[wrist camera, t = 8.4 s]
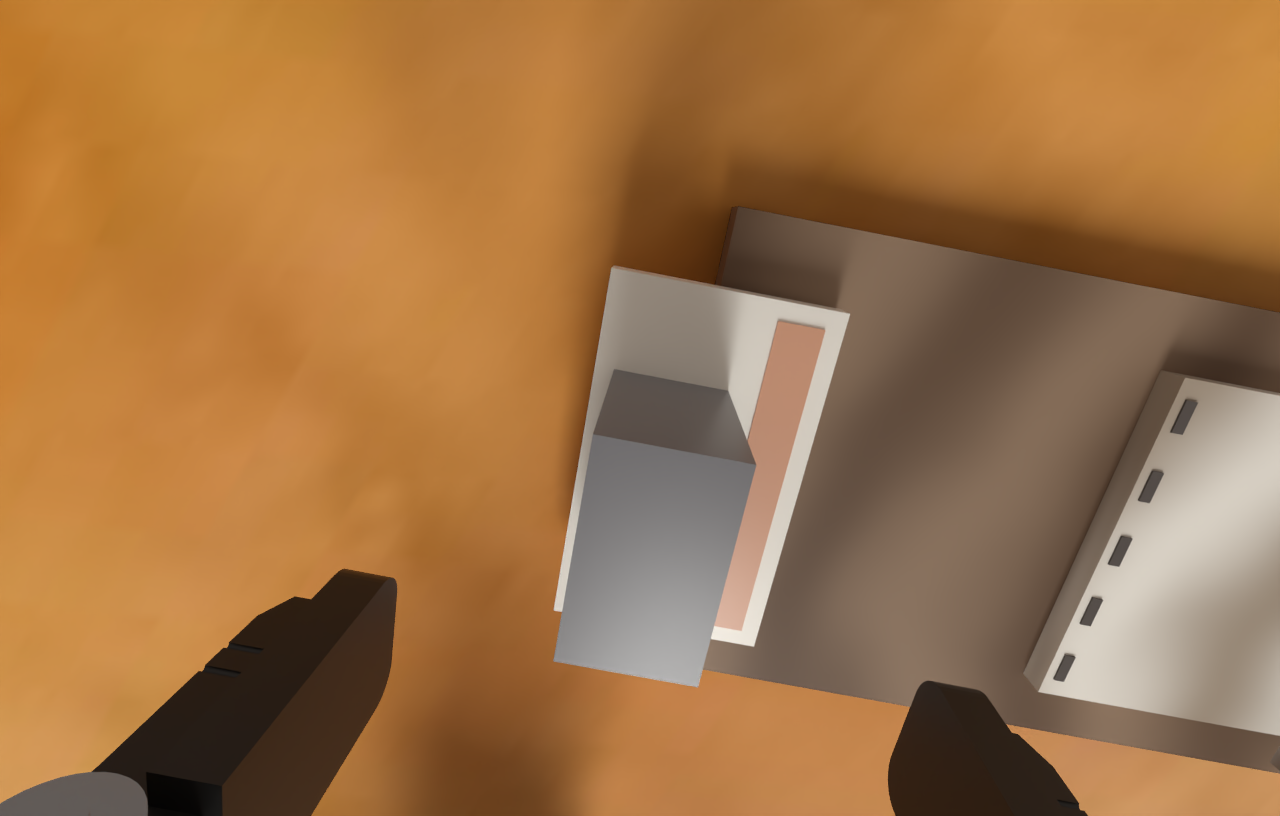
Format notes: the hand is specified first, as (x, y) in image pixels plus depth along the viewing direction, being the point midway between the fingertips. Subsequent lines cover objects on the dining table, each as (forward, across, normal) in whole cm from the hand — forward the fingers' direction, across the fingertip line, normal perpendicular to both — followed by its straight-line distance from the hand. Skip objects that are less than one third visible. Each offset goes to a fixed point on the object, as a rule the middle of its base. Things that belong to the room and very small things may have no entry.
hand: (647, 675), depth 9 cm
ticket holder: (+10, -14, 0) cm, 17 cm away
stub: (+9, -1, 0) cm, 9 cm away
